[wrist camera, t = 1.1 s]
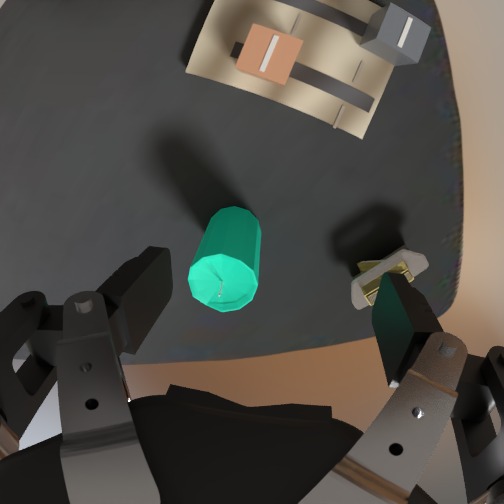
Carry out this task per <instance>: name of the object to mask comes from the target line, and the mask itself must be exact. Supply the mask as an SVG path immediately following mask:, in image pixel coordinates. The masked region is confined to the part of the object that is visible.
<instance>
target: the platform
mask: <svg viewBox="0 0 504 504" xmlns="http://www.w3.org/2000/svg"><path fill="white" fill-rule="evenodd" d="M357 265H358V267H360V268H359V269H361V270H362V272H361V273H359V274H358V275H356V276H354V277H353V282H352V283H351V298H352V303H353V305H354V306H355V308H356V309H358V310H360V309H362V308H364V307H366V306H367V305H369V304H370V306H371V305H373V304H374V303H375V302H374V301H375V299H376V296H377V292H378V289H379V285H380V281H381V278H382V275H383V273H384V272H392V273H402V274H404V275H405V276H406V278H407V280H409V281H408V282H411V281H412V280H414V276H416V275H417V274H419V273H420V272H422V271H423V270H425V269H426V268H427V267H428V262H427V259H426V258H425V256H424V255H423V254H420V253H416V252H412V251H409V249H408V248H407V247H406V245H403V246H402V247H400V248H399V249H397V250H395V251H394V252H392V253H391V254H389V255H388V256H386V257H385V258H383V259H382V260H374V261H362V262H360V263H359V262H358V263H357ZM361 270H360V271H361ZM411 278H412V280H410V279H411ZM373 302H374V303H373ZM371 303H373V304H371Z"/></svg>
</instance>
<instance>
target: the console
mask: <svg viewBox="0 0 504 504" xmlns="http://www.w3.org/2000/svg"><path fill="white" fill-rule="evenodd" d="M381 8H382V7H380V6H378V5H376V4H374V3H373V2H371V1H369V0H215V1H214V3H213V5H212V7H211V9H210V12H209V14H208V16H207V18H206V21H205V23H204V25H203V28H202V30H201V33H200V35H199V38H198V40H197V43H196V45H195V48H194V50H193V53H192V55H191V58H190V61H189V63H188V66H187V69H186V73H190V74H194V75H198V76H201V77H205V78H208V79H212V80H215V81H218V82H222V83H225V84H228V85H231V86H234V87H237V88H240V89H243V90H246V91H249V92H252V93H255V94H258V95H261V96H264V97H266V98H269V99H272V100H274V101H277V102H280V103H282V104H285V105H287V106H290V107H292V108H295V109H297V110H300V111H302V112H304V113H307V114H309V115H312V116H314V117H316V118H318V119H321V120H323V121H325V122H327V123H330V124H332V125H333V128H336V127H338V128H340V129H342V130H345V131H347V132H349V133H351V134H353V135H355V136H357V137H359V138H361V139H362V138H363V136H364V134H365V132H366V129H367V127H368V125H369V123H370V121H371V118H372V116H373V114H374V112H375V109H376V107H377V105H378V103H379V100H380V98H381V96H382V93H383V91H384V89H385V86H386V84H387V82H388V79H389V77H390V75H391V72H392V70H393V67H394V65H393V64H391V63H389V62H387V61H386V60H384V59H382V58H380V57H379V56H377V55H375V54H373V53H371V52H369V51H367V50H366V49H364V48H362V47H360V46H359V45H360V42H361V40H362V37H363V35H364V33H365V30H366V28H367V26H368V23H369V21H370V18H371V16H372V14H374V13H375V12H377V11H378V10H380V9H381ZM253 23H254V24H257V25H261V26H264V27H267V28H270V29H273V30H276V31H279V32H281V33H284V34H287V35H290V36H292V37H295V38H298V39H300V40H303V44H302V46H301V48H300V51H299V53H298V55H297V58H296V60H295V62H294V65H293V67H292V69H291V72H290V74H289V76H288V79H287V81H286V84H285V85H284V86H283V87H281V86H278V85H276V84H273V83H270V82H268V81H265V80H262V79H259V78H256V77H253V76H250V75H247V74H244V73H241V72H240V71H238V70H237V69H236V68H235V66H236V63H237V61H238V58H239V56H240V53H241V51H242V48H243V46H244V44H245V41H246V39H247V37H248V34H249V32H250V30H251V27H252V25H253Z"/></svg>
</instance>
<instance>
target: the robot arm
mask: <svg viewBox="0 0 504 504" xmlns="http://www.w3.org/2000/svg"><path fill="white" fill-rule="evenodd" d="M172 290H173V281H172V269H171V256H170V251H169V249H168V248H162V247H153V246H149V247H148V248H147V249H146V250H144V251H143V252H142V253H141V254H140V255H139V256H138V257H135V258H133V259H131V260H129V261H127V262H125V263H124V264H123V265H122V266H121V267H120V268H118V270H116V271H115V272H114V273H113V274H112V276H110V277H109V278H108V279H107V280H106V281H105V282H104V283H103V284H102V285H101V286H100V287H99V288H98V289H97V290H96V291H83V292H79V293H76V294H74V295H72V296H70V297H69V298H68V299H67V300H66V301H65V303H64V305H48V304H47V301H46V298H45V295H44V294H43V293H42V292H39V291H30V292H26V293H24V294H21V295H20V296H18V297H17V298H15V299H14V300H13V301H12V302H11V303H10V304H9V305H8V306H7V307H6V308H5V309H4V310H3V311H2V312H0V504H437V503H436V502H435V501H434V500H433V499H432V498H431V497H430V496H429V495H428V494H427V493H426V492H425V491H424V490H422V488H421V487H419V486H418V485H417V484H416V483H417V482H418V480H419V478H420V476H421V474H422V472H423V471H424V469H425V467H426V465H427V463H428V462H429V460H430V458H431V456H432V454H433V452H434V450H435V448H436V445H437V444H438V442H439V439H440V437H441V435H442V433H443V431H444V428H445V426H446V424H447V421H448V419H449V417H451V420H452V425H453V428H454V433H455V437H456V441H457V445H458V450H459V455H460V460H461V465H462V470H463V476H464V482H465V488H466V495H467V502H468V504H504V347H502V346H494V347H492V348H491V349H490V350H489V352H488V354H487V356H486V357H485V358H484V357H480V356H475V355H471V354H468V350H467V347H466V345H465V344H464V343H463V341H462V340H461V339H459V338H458V337H456V336H455V335H452V334H450V333H447V332H444V331H443V329H442V327H441V325H440V323H439V322H438V320H437V318H436V316H435V314H434V313H433V312H432V309H431V307H430V306H429V304H428V302H427V300H426V298H425V297H424V295H423V294H422V293H420V292H419V291H418V290H417V289H416V288H413V287H411V285H410V283H409V282H408V280H407V278H406V276H405V275H404V274H402V273H392V272H384V273H383V275H382V278H381V281H380V285H379V289H378V292H377V296H376V299H375V303H374V306H373V310H372V325H373V328H374V332H375V335H376V339H377V343H378V346H379V350H380V354H381V358H382V362H383V366H384V369H385V374H386V377H387V382H388V387H397V389H396V390H395V391H394V393H393V395H392V396H391V397H390V399H389V400H388V402H387V403H386V405H385V406H384V407H383V409H382V410H381V412H380V413H379V414H378V416H377V417H376V418H375V420H374V421H373V422H372V424H371V425H370V426H369V428H368V429H367V430H366V431H365V433H363V432H362V431H361V430H359V429H357V428H356V427H354V426H352V425H350V424H348V423H346V422H343V421H340V420H338V419H334V418H332V408H331V406H318V405H303V404H284V405H283V404H282V405H271V406H259V407H246V406H243V405H240V404H238V403H235V402H232V401H230V400H227V399H224V398H222V397H219V396H217V395H214V394H212V393H209V392H205V391H200V390H195V389H190V388H186V387H181V386H176V385H172V384H170V386H169V389H168V391H167V393H166V395H152V396H146V397H141V398H138V399H134V400H132V399H131V396H130V393H129V389H128V386H127V383H126V379H125V376H124V372H123V369H122V365H121V361H120V358H119V356H120V354H121V353H122V352H126V353H129V354H133V355H135V353H136V352H137V350H138V349H139V347H140V345H141V344H142V342H143V341H144V339H145V337H146V336H147V334H148V333H149V331H150V330H151V328H152V326H153V325H154V323H155V322H156V320H157V319H158V317H159V316H160V314H161V313H162V311H163V309H164V308H165V306H166V305H167V303H168V302H169V300H170V298H171V295H172ZM24 343H26V345H27V347H28V349H29V352H30V356H29V357H28V358H27V359H26V361H25V362H24V363H23V365H22V366H21V367H20V368H19V369H18V371H17V372H16V373H15V371H14V369H13V366H12V361H13V357H14V355H15V354H16V353H17V351H18V350H19V349H20V348H21V347H22V345H23V344H24ZM56 381H58V397H59V409H60V418H61V427H62V433H60V434H58V435H56V436H54V437H51V438H49V439H47V440H44V441H42V442H40V443H37V444H35V445H32V446H30V447H27V448H25V449H22V450H20V451H19V440H20V438H21V437H22V435H23V433H24V432H25V430H26V428H27V427H28V425H29V424H30V422H31V420H32V419H33V417H34V415H35V414H36V412H37V410H38V409H39V407H40V406H41V404H42V403H43V401H44V400H45V398H46V396H47V395H48V393H49V392H50V390H51V389H52V387H53V386H54V384H55V383H56ZM495 406H496V407H497V410H498V413H499V415H500V418H501V429H500V432H499V434H498V435H496V432H495V429H494V426H493V423H492V420H491V417H490V413H491V411H492V410H493V409H494V408H495Z"/></svg>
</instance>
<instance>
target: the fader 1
mask: <svg viewBox="0 0 504 504" xmlns="http://www.w3.org/2000/svg"><path fill="white" fill-rule="evenodd" d="M302 44H303V40H300V39H298V38H295V37H292V36H290V35H287V34H284V33H281V32H279V31H276V30H273V29H270V28H267V27H264V26H261V25H257V24H254V23H253V25H252V27H251V30H250V32H249V34H248V37H247V39H246V41H245V44H244V46H243V48H242V51H241V53H240V56H239V58H238V61H237V63H236V66H235V68H236V69H237V70H238V71H240V72H241V73H244V74H247V75H250V76H253V77H256V78H259V79H262V80H265V81H268V82H270V83H273V84H276V85H278V86H281V87H283V86H284V85H285V84H286V81H287V79H288V76H289V74H290V72H291V69H292V67H293V65H294V62H295V60H296V58H297V55H298V53H299V51H300V48H301V46H302Z"/></svg>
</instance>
